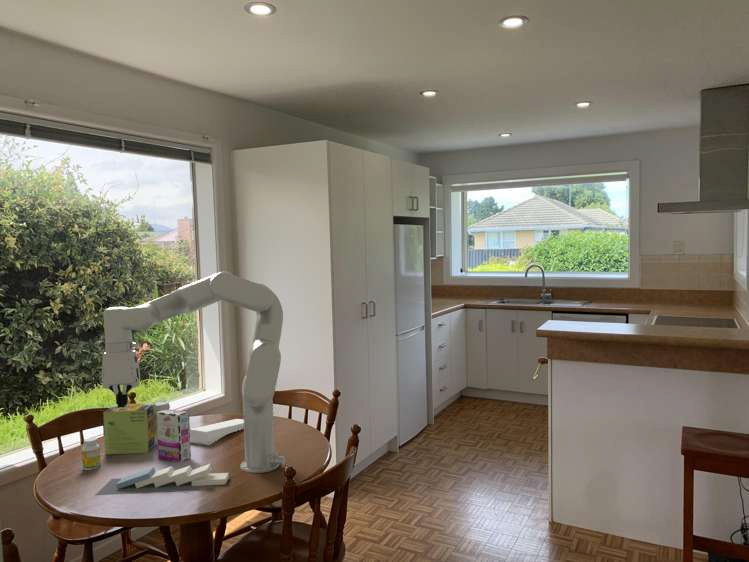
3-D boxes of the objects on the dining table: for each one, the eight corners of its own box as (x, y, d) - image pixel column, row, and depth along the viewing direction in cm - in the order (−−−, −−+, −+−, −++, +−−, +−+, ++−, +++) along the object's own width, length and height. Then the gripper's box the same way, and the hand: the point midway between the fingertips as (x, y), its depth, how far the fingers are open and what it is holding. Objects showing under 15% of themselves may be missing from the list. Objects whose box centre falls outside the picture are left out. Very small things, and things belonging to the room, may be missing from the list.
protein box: (149, 452, 202) (147, 409, 201) (104, 455, 201) (102, 411, 200) (158, 443, 212) (156, 402, 212) (115, 445, 211) (113, 404, 210)
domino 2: (160, 480, 174) (191, 470, 175) (155, 487, 169) (187, 476, 170) (159, 476, 174) (190, 465, 175) (153, 482, 169) (185, 471, 170)
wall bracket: (236, 437, 235) (188, 449, 210) (233, 419, 237) (185, 430, 211) (255, 433, 232) (209, 446, 206) (253, 415, 233) (206, 426, 207)
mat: (208, 476, 179) (208, 474, 179) (199, 491, 167) (199, 490, 167) (111, 480, 177) (111, 478, 177) (94, 496, 165) (94, 495, 165)
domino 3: (181, 479, 175) (212, 468, 175) (176, 485, 170) (208, 474, 170) (180, 474, 175) (210, 463, 175) (175, 481, 170) (206, 469, 170)
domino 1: (142, 481, 174) (173, 471, 175) (136, 488, 169) (168, 477, 170) (140, 476, 174) (172, 466, 174) (134, 483, 169) (166, 472, 169)
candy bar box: (192, 458, 195) (190, 411, 194) (180, 463, 190) (178, 415, 190) (168, 453, 200) (166, 408, 199) (157, 458, 196) (155, 411, 195)
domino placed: (124, 482, 174) (155, 471, 174) (117, 489, 169) (150, 478, 169) (122, 477, 174) (153, 467, 174) (116, 484, 169) (148, 473, 169)
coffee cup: (151, 430, 228) (150, 401, 228) (173, 429, 229) (172, 399, 228) (145, 437, 220) (144, 406, 219) (168, 435, 221) (166, 405, 220)
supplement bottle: (100, 469, 187) (99, 440, 187) (82, 472, 185) (81, 443, 184) (100, 463, 192) (99, 435, 192) (83, 466, 190) (81, 438, 189)
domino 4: (196, 479, 175) (228, 477, 175) (191, 485, 170) (225, 484, 170) (195, 474, 175) (228, 472, 175) (191, 480, 170) (225, 479, 170)
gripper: (148, 344, 178) (151, 402, 179) (98, 346, 176) (102, 404, 177) (140, 348, 170) (143, 408, 171) (88, 350, 169) (92, 411, 170)
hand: (122, 406), depth 174 cm, fingers closed
